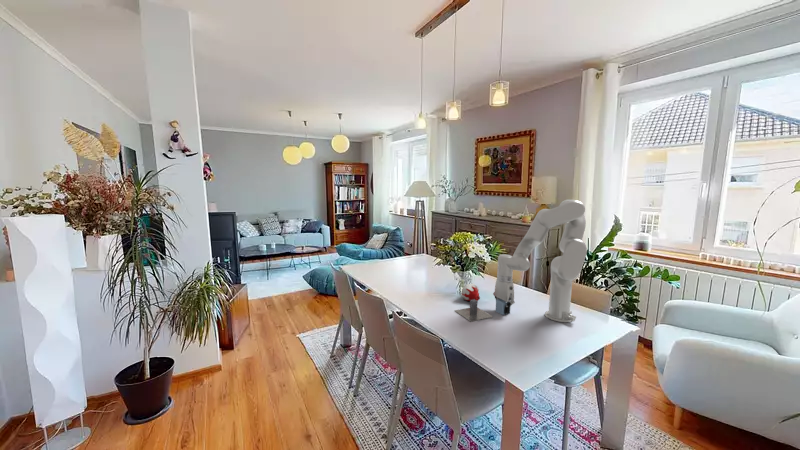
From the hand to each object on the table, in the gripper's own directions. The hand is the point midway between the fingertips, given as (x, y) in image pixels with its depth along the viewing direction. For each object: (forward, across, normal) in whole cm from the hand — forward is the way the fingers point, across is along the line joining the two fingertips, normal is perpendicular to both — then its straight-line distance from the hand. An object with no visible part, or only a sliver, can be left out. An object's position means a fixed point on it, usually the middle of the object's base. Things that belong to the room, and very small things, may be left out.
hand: (502, 311), depth 162 cm
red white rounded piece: (+1, +21, +5) cm, 22 cm away
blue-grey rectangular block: (+1, 0, 0) cm, 1 cm away
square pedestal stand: (+1, +4, +16) cm, 17 cm away
